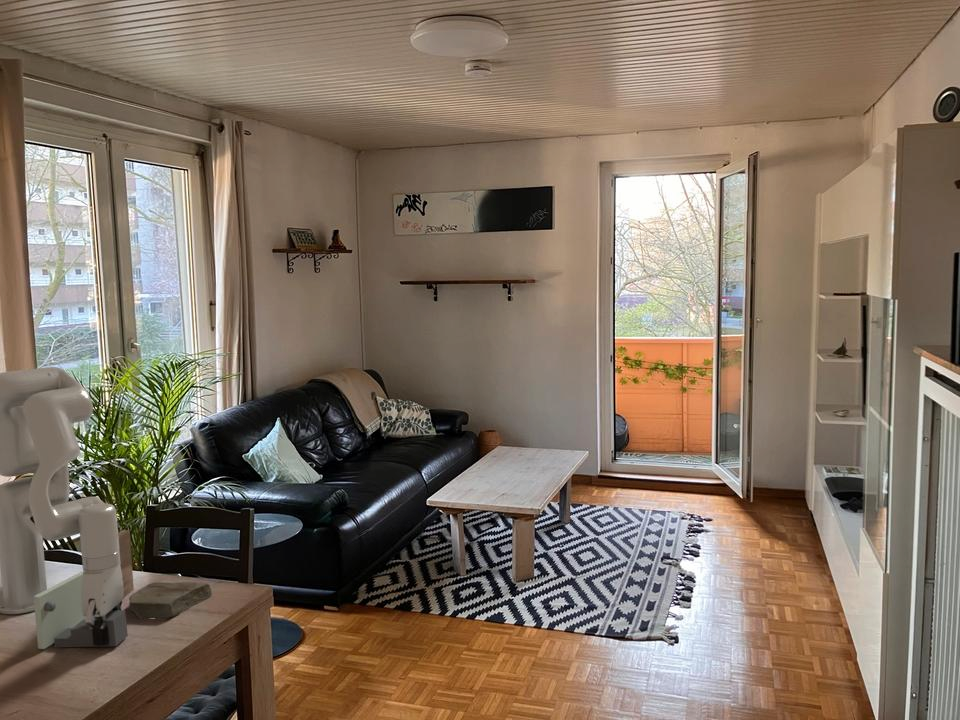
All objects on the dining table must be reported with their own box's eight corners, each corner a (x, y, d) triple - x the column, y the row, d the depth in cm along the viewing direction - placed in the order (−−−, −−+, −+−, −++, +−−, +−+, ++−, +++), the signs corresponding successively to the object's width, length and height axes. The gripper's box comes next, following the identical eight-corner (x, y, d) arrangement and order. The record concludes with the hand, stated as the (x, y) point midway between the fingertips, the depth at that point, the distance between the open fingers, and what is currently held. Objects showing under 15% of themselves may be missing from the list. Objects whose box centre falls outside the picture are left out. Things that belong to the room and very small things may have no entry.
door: (38, 648, 170) (33, 596, 169) (95, 613, 187) (92, 565, 185) (48, 649, 170) (43, 597, 168) (105, 614, 186) (101, 566, 185)
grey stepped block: (55, 647, 172) (52, 621, 171) (68, 636, 177) (65, 611, 176) (116, 646, 171) (113, 620, 170) (127, 635, 176) (124, 610, 175)
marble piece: (213, 595, 198) (212, 580, 198) (184, 622, 184) (183, 605, 183) (152, 592, 201) (151, 577, 200) (118, 618, 186) (117, 602, 186)
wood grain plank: (98, 612, 188) (94, 549, 186) (126, 589, 202) (122, 530, 200) (106, 612, 188) (102, 549, 186) (133, 589, 202) (129, 530, 200)
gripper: (104, 546, 180) (111, 621, 182) (62, 575, 163) (70, 657, 165) (136, 546, 179) (142, 621, 182) (97, 575, 163) (104, 657, 165)
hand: (108, 637), depth 173 cm, fingers closed on grey stepped block, 5 cm apart
